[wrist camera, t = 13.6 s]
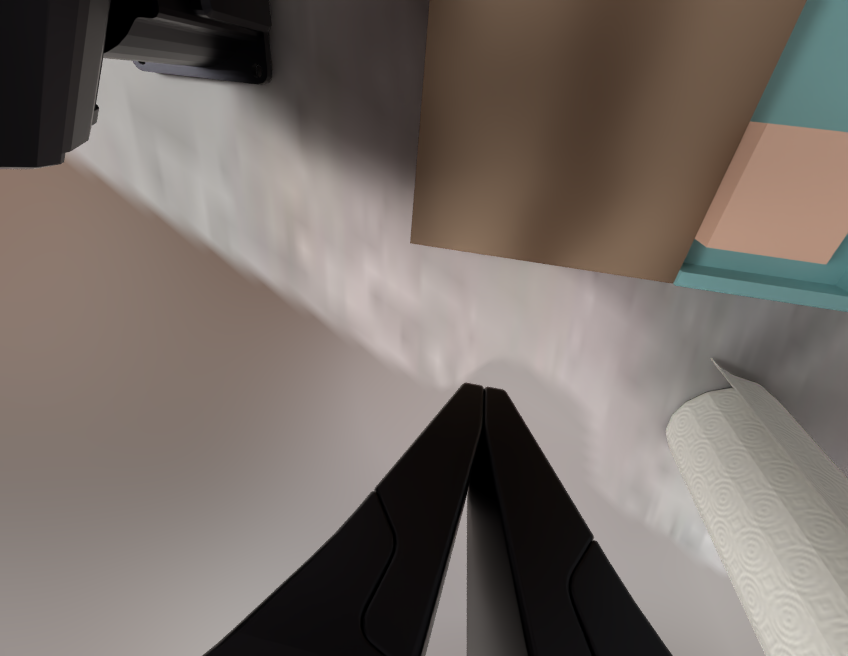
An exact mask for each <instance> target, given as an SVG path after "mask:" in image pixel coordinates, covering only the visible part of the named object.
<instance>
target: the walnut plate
mask: <svg viewBox="0 0 848 656" xmlns="http://www.w3.org/2000/svg"><path fill="white" fill-rule="evenodd" d="M806 1H807V0H430V1H429V13H428V26H427V39H426V51H425V64H424V76H423V89H422V102H421V114H420V127H419V140H418V152H417V165H416V177H415V190H414V203H413V215H412V228H411V241H410V243H412V244H419V245H425V246H432V247H438V248H445V249H451V250H458V251H464V252H471V253H477V254H484V255H491V256H497V257H504V258H510V259H517V260H523V261H530V262H536V263H543V264H549V265H556V266H562V267H569V268H575V269H582V270H588V271H595V272H601V273H608V274H614V275H621V276H628V277H634V278H641V279H647V280H654V281H660V282H667V283H674V281H675V279H676V277H677V275H678V273H679V270H680V268H681V266H682V264H683V262H684V260H685V258H686V256H687V253H688V251H689V249H690V247H691V245H692V243H693V241H694V239H695V237H696V234H697V232H698V230H699V228H700V226H701V224H702V222H703V220H704V217H705V215H706V213H707V211H708V209H709V207H710V205H711V203H712V200H713V198H714V196H715V194H716V192H717V190H718V188H719V186H720V184H721V181H722V179H723V177H724V175H725V173H726V171H727V169H728V167H729V164H730V162H731V160H732V158H733V156H734V154H735V152H736V150H737V147H738V145H739V143H740V141H741V139H742V137H743V135H744V133H745V131H746V128H747V126H748V124H749V122H750V120H751V118H752V116H753V114H754V111H755V109H756V107H757V105H758V103H759V101H760V99H761V97H762V94H763V92H764V90H765V88H766V86H767V84H768V82H769V80H770V78H771V75H772V73H773V71H774V69H775V67H776V65H777V63H778V61H779V58H780V56H781V54H782V52H783V50H784V48H785V46H786V44H787V41H788V39H789V37H790V35H791V33H792V31H793V29H794V27H795V24H796V22H797V20H798V18H799V16H800V14H801V12H802V10H803V8H804V5H805V3H806Z"/></svg>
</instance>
